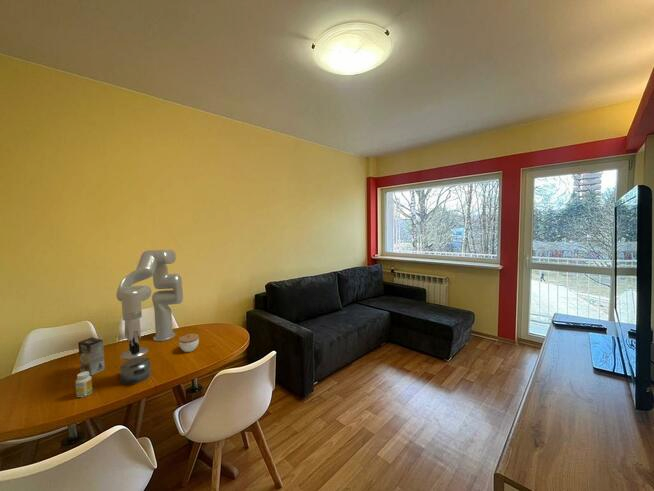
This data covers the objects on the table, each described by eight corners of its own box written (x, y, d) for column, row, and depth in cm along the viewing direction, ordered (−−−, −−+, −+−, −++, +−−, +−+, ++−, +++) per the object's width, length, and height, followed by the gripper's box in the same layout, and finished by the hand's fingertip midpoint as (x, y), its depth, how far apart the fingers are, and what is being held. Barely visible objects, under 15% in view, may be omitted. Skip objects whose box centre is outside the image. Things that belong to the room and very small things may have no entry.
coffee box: (79, 372, 137) (77, 342, 136) (94, 366, 143) (91, 337, 142) (91, 375, 134) (89, 344, 133) (105, 369, 140) (103, 339, 139)
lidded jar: (203, 346, 167) (202, 331, 166) (192, 354, 156) (192, 338, 155) (186, 345, 168) (186, 330, 167) (175, 353, 157) (174, 338, 156)
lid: (118, 354, 132) (117, 342, 131) (144, 346, 140) (144, 335, 139) (123, 362, 124) (122, 349, 124) (150, 353, 132) (150, 342, 132)
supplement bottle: (77, 399, 117) (75, 378, 116) (75, 394, 120) (73, 374, 119) (93, 393, 121) (92, 373, 120) (91, 388, 124) (89, 368, 123)
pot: (117, 375, 135) (116, 362, 134) (146, 366, 143) (145, 353, 143) (125, 389, 123) (124, 375, 123) (155, 378, 132) (154, 365, 132)
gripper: (119, 313, 133) (121, 348, 135) (126, 321, 122) (129, 360, 124) (137, 309, 139) (139, 344, 140) (145, 317, 128) (148, 354, 129)
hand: (134, 351), depth 132 cm, fingers closed on lid, 2 cm apart
